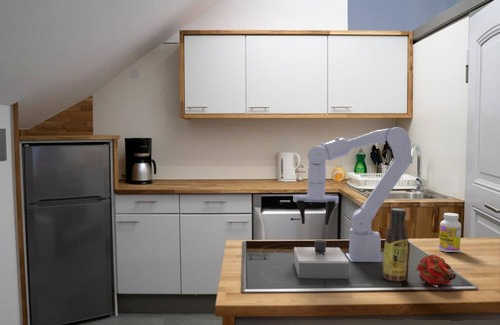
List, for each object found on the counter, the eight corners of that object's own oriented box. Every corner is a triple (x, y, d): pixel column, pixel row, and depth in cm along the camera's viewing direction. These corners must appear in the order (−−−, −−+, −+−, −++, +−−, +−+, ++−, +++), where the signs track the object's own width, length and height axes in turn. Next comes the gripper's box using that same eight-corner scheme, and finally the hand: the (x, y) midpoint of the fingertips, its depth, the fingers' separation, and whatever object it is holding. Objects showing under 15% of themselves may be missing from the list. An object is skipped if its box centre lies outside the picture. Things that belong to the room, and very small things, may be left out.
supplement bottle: (434, 250, 162) (436, 213, 160) (445, 247, 165) (447, 211, 164) (453, 254, 156) (455, 217, 155) (463, 251, 160) (465, 214, 159)
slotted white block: (338, 263, 146) (339, 247, 145) (348, 278, 132) (348, 261, 131) (293, 262, 145) (294, 247, 145) (298, 278, 132) (299, 260, 131)
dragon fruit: (422, 281, 135) (448, 302, 123) (403, 266, 132) (428, 287, 121) (441, 258, 134) (469, 277, 123) (422, 243, 132) (449, 261, 120)
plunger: (334, 262, 144) (335, 236, 143) (342, 273, 133) (342, 246, 132) (299, 261, 144) (299, 236, 143) (303, 273, 133) (304, 246, 132)
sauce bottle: (394, 284, 127) (396, 212, 126) (377, 277, 133) (380, 208, 131) (411, 280, 130) (414, 210, 129) (395, 274, 136) (397, 206, 134)
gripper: (336, 181, 156) (334, 221, 158) (293, 180, 156) (291, 220, 158) (340, 184, 149) (338, 226, 151) (295, 183, 149) (293, 225, 151)
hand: (314, 223), depth 154 cm, fingers open, 7 cm apart
